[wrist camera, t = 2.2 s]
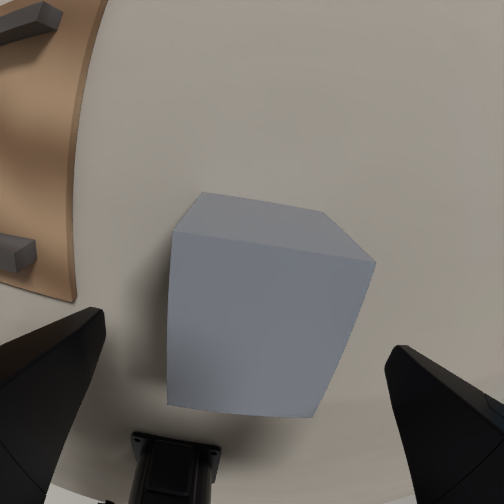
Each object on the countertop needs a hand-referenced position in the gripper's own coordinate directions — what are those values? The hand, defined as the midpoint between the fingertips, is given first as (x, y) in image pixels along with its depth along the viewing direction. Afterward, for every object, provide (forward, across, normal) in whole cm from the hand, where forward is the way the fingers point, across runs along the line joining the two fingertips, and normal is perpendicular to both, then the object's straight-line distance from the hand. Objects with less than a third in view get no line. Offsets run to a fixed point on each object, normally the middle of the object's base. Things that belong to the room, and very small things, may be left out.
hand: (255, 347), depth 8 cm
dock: (+5, +15, -5) cm, 17 cm away
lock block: (+5, 0, 0) cm, 5 cm away
